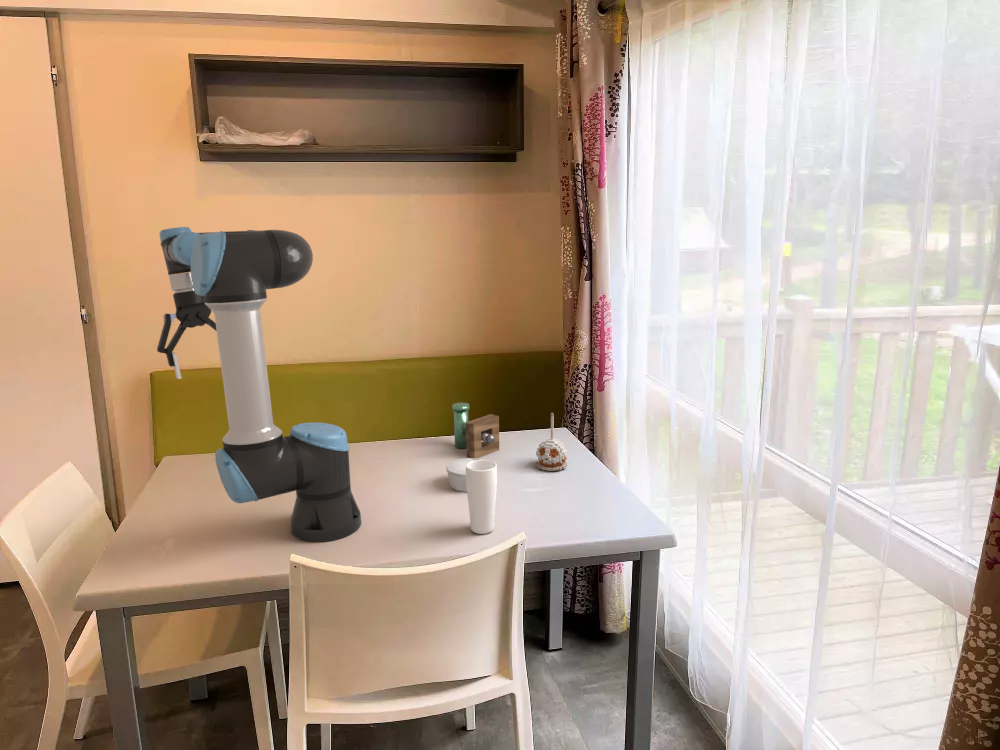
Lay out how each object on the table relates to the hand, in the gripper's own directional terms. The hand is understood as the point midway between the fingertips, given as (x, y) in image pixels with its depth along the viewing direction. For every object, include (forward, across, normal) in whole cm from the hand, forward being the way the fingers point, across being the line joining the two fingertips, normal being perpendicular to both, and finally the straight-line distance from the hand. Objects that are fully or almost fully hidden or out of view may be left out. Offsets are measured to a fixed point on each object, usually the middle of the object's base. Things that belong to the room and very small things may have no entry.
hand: (206, 372), depth 188 cm
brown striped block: (+35, -62, +28) cm, 76 cm away
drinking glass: (+38, -35, +67) cm, 84 cm away
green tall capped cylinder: (+34, -61, +24) cm, 74 cm away
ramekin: (+36, -46, +44) cm, 74 cm away
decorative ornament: (+38, -70, +47) cm, 93 cm away
